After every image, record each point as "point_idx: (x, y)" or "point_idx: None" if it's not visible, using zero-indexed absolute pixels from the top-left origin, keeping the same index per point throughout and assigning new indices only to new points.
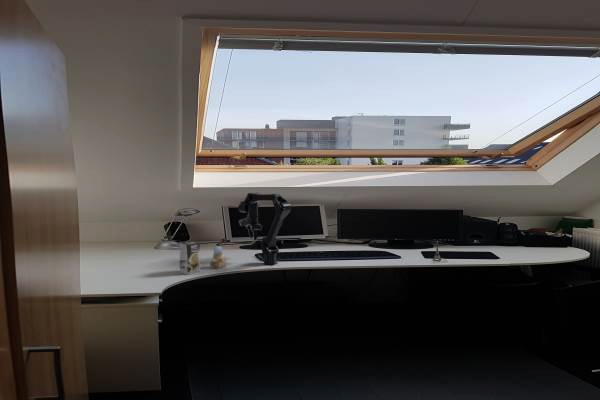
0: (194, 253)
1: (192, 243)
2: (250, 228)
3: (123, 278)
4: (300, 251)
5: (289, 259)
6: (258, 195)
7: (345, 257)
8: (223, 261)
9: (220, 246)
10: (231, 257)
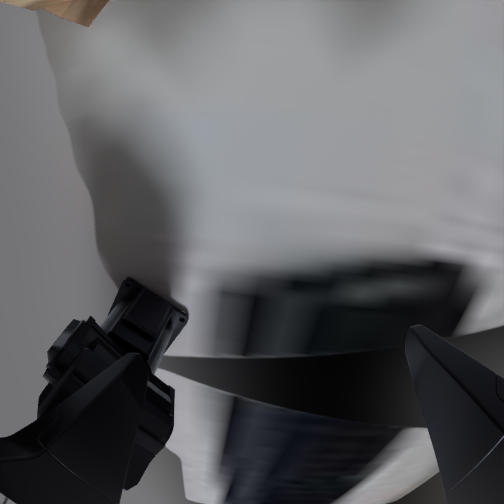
0: None
1: None
2: (493, 482)
3: None
4: (401, 442)
5: (253, 411)
6: None
7: (253, 495)
8: (49, 11)
9: None
10: (413, 62)
